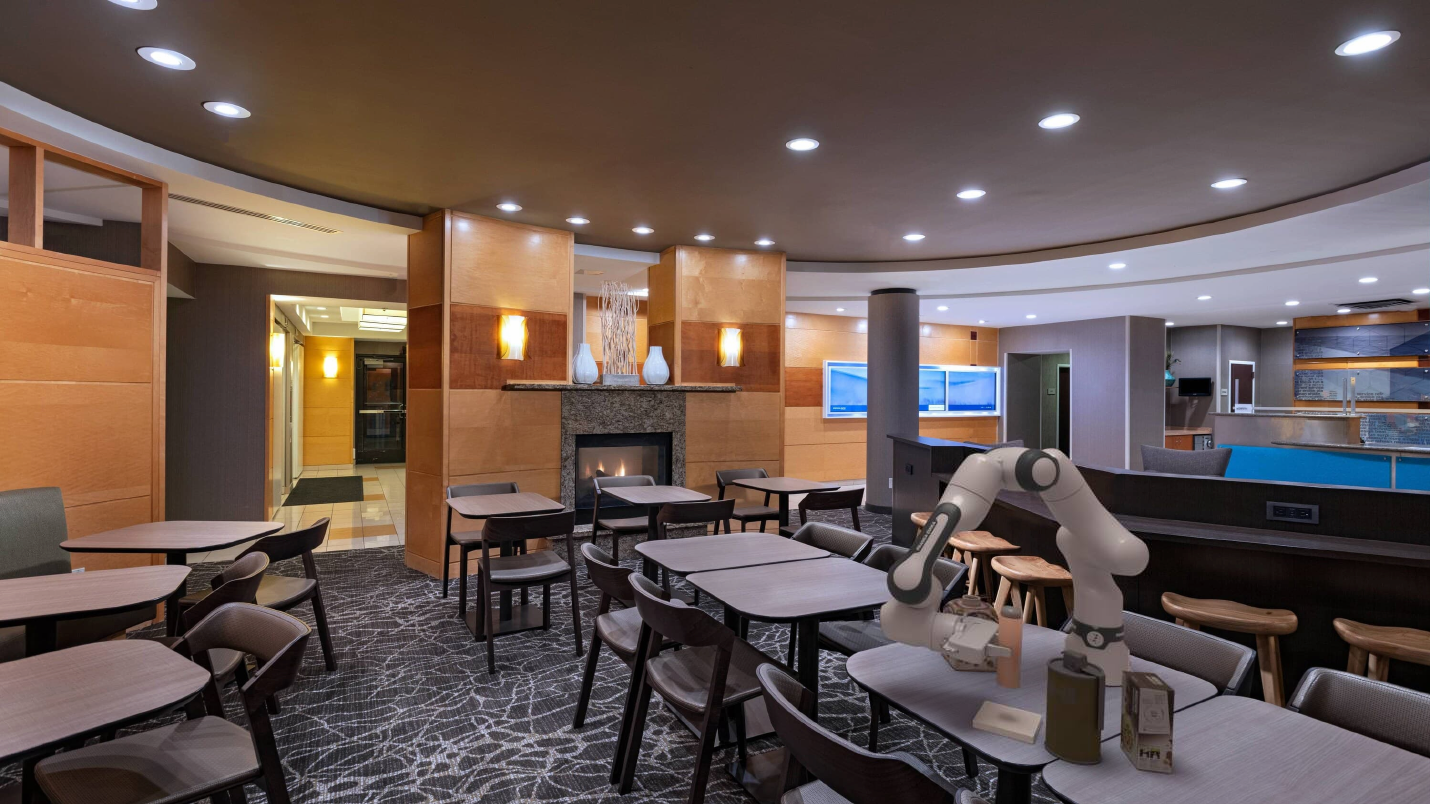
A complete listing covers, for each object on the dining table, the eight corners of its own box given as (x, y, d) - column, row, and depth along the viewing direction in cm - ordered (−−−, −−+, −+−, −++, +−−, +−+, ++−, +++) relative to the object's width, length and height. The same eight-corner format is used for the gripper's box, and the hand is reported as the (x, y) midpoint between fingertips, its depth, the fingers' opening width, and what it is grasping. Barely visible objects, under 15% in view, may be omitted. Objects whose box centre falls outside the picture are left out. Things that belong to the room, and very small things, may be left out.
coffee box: (1173, 774, 132) (1176, 691, 131) (1136, 769, 133) (1139, 687, 133) (1153, 750, 141) (1155, 672, 140) (1118, 746, 142) (1121, 668, 142)
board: (985, 706, 158) (985, 700, 158) (1042, 721, 152) (1042, 714, 152) (972, 727, 148) (972, 720, 148) (1032, 744, 142) (1033, 736, 142)
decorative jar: (999, 672, 178) (1001, 604, 178) (954, 671, 179) (957, 602, 178) (982, 655, 190) (984, 590, 190) (940, 653, 191) (942, 589, 190)
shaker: (998, 677, 153) (1001, 603, 153) (1022, 683, 151) (1025, 608, 150) (994, 684, 149) (997, 609, 149) (1017, 690, 147) (1020, 613, 146)
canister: (1033, 745, 141) (1036, 649, 141) (1064, 733, 146) (1067, 641, 146) (1083, 771, 132) (1086, 668, 132) (1115, 758, 137) (1118, 659, 137)
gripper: (937, 633, 148) (1005, 648, 141) (961, 609, 165) (1023, 621, 158) (935, 662, 148) (1003, 678, 141) (960, 635, 165) (1021, 649, 158)
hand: (1014, 648), depth 149 cm, fingers closed on shaker, 5 cm apart
